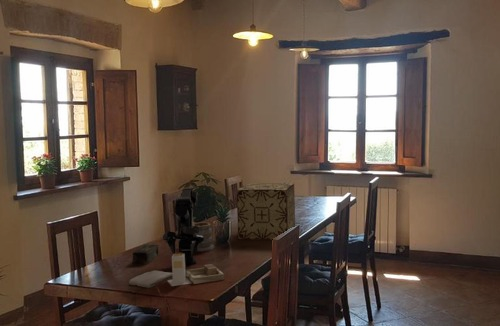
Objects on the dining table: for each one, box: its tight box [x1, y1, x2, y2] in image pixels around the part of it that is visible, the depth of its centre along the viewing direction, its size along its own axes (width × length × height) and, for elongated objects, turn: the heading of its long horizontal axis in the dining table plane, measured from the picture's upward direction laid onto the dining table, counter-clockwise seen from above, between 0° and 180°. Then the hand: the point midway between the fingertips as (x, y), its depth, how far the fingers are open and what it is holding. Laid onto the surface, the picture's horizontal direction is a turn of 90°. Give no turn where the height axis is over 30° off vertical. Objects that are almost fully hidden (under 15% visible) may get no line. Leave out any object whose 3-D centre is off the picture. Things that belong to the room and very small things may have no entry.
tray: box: [185, 267, 225, 285], centre depth 231 cm, size 14×14×3 cm
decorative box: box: [236, 182, 296, 241], centre depth 317 cm, size 30×30×30 cm
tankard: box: [192, 219, 215, 253], centre depth 289 cm, size 20×13×15 cm, turn 32°
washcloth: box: [128, 270, 173, 289], centre depth 231 cm, size 12×18×3 cm, turn 151°
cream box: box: [171, 253, 187, 284], centre depth 226 cm, size 5×5×12 cm
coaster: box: [166, 277, 192, 287], centre depth 226 cm, size 9×9×1 cm
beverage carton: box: [132, 243, 159, 265], centre depth 267 cm, size 8×19×7 cm, turn 172°
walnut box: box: [203, 263, 218, 276], centre depth 235 cm, size 7×4×4 cm, turn 22°
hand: (183, 256), depth 235 cm, fingers open, 9 cm apart
